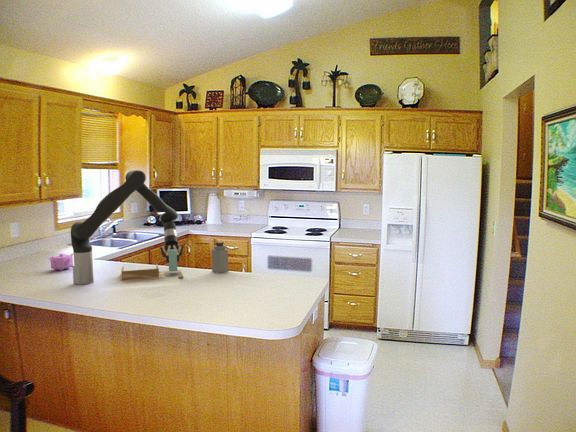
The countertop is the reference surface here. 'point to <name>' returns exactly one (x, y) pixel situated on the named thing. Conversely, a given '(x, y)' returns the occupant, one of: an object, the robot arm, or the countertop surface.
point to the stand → (148, 274)
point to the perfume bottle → (219, 258)
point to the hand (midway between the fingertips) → (173, 262)
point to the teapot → (61, 262)
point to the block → (172, 259)
